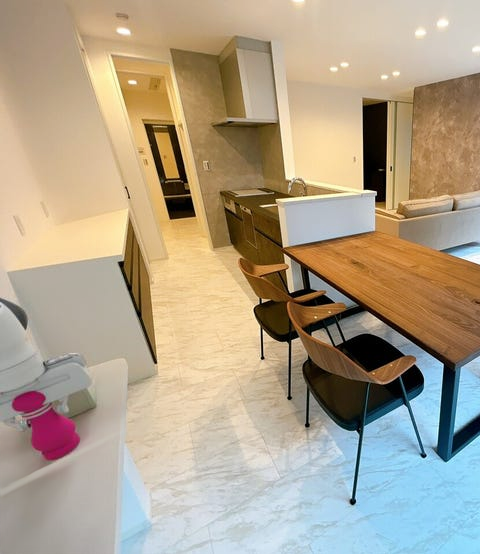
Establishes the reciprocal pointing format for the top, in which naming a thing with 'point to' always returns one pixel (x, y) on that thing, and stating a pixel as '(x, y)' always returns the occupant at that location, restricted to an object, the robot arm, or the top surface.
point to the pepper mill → (46, 425)
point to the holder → (79, 401)
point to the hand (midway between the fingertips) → (45, 420)
